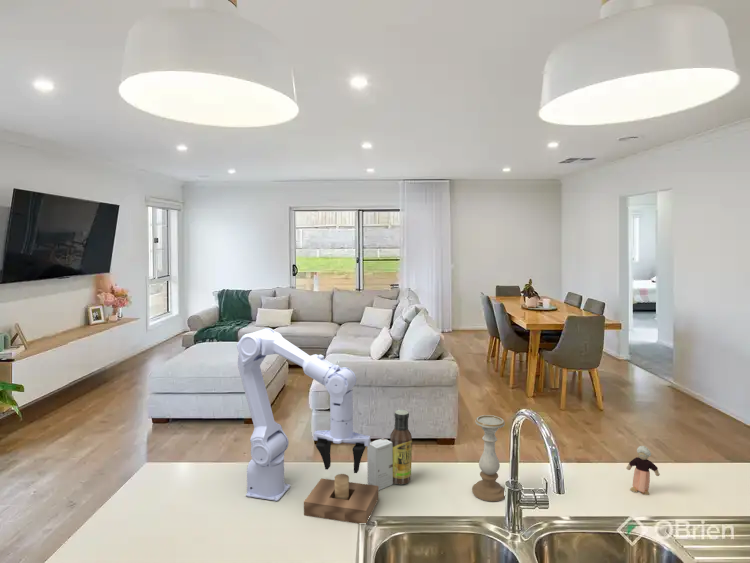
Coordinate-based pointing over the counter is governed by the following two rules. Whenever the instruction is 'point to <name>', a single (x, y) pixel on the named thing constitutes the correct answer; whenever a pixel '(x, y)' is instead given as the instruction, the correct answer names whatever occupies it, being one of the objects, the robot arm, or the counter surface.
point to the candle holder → (489, 461)
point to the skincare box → (380, 463)
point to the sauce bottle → (401, 448)
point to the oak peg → (342, 486)
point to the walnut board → (341, 502)
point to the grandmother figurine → (642, 470)
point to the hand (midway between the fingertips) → (342, 469)
